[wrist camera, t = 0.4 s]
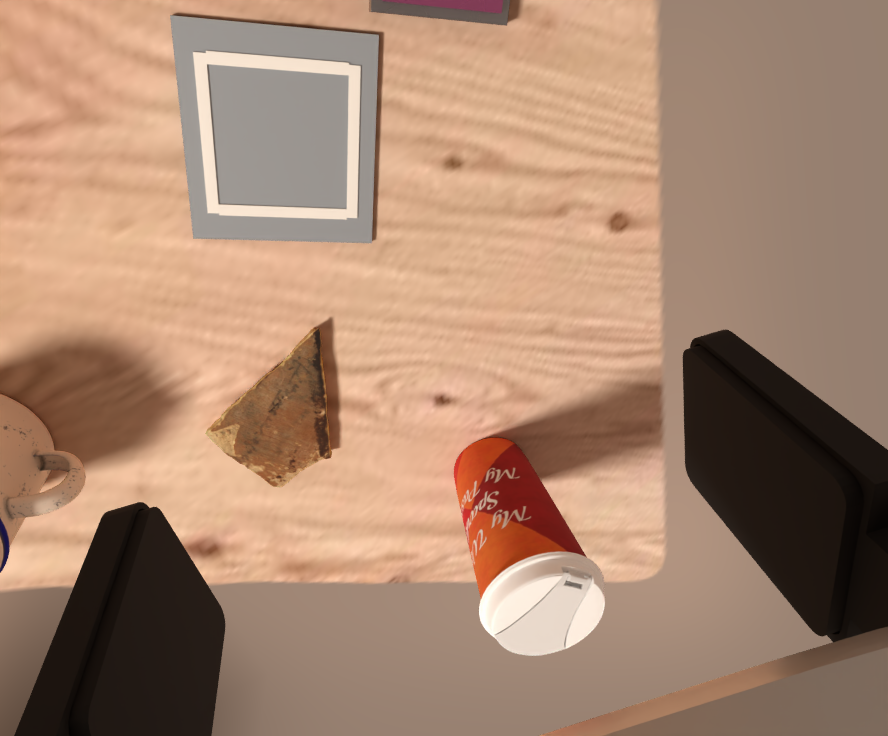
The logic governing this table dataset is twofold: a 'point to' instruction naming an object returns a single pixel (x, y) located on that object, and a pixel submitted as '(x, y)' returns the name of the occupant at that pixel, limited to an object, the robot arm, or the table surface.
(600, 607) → the paper cup
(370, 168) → the marked card
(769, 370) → the robot arm
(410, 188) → the table surface
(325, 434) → the shard
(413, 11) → the ink pad
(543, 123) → the table surface
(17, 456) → the teacup with lid
